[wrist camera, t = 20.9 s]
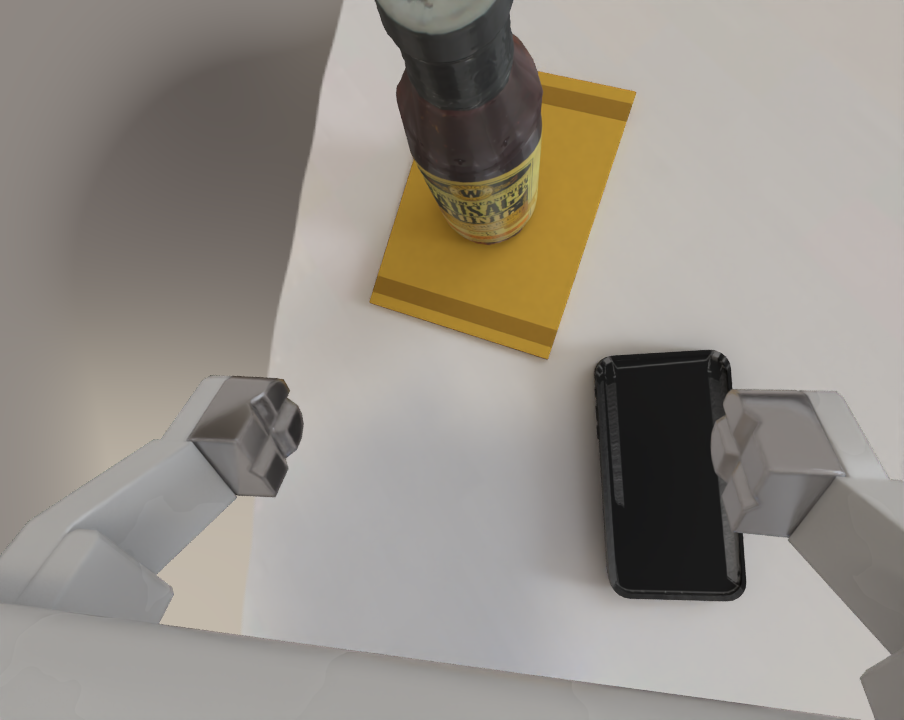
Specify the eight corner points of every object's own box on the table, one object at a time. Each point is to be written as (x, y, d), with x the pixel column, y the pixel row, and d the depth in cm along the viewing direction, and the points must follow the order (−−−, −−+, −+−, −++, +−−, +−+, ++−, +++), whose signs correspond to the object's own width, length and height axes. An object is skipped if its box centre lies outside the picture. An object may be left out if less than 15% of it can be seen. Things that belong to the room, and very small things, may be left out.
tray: (547, 359, 32) (547, 359, 32) (370, 303, 35) (368, 302, 34) (635, 94, 32) (636, 91, 31) (448, 55, 34) (447, 51, 33)
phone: (729, 348, 29) (747, 602, 29) (722, 349, 30) (740, 593, 30) (593, 356, 31) (608, 598, 30) (591, 357, 32) (606, 590, 31)
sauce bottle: (443, 248, 33) (300, 82, 14) (448, 157, 33) (314, -137, 14) (540, 250, 32) (534, 71, 13) (546, 156, 32) (549, -170, 13)
